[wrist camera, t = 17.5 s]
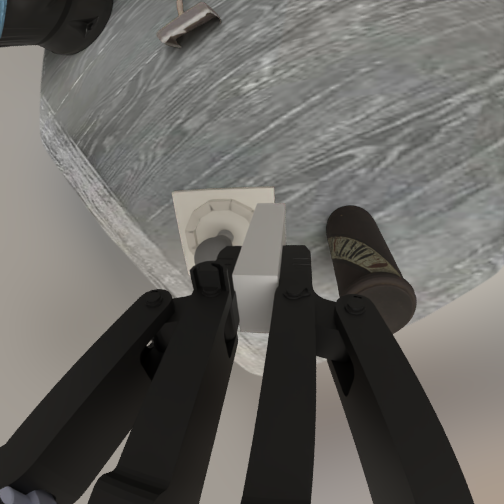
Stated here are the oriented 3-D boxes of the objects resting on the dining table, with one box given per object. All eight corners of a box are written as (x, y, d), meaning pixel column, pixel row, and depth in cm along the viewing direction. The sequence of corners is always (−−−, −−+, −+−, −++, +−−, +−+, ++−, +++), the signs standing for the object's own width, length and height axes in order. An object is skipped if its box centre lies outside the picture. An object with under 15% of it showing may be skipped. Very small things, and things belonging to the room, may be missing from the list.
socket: (190, 273, 52) (187, 279, 50) (173, 190, 44) (169, 194, 42) (277, 275, 49) (276, 282, 48) (274, 186, 41) (273, 190, 40)
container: (350, 192, 40) (386, 266, 23) (388, 228, 42) (433, 312, 25) (312, 231, 44) (319, 322, 27) (351, 262, 46) (373, 356, 29)
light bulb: (204, 243, 47) (184, 279, 39) (213, 213, 44) (193, 244, 35) (238, 256, 47) (225, 294, 39) (249, 226, 44) (238, 261, 36)
